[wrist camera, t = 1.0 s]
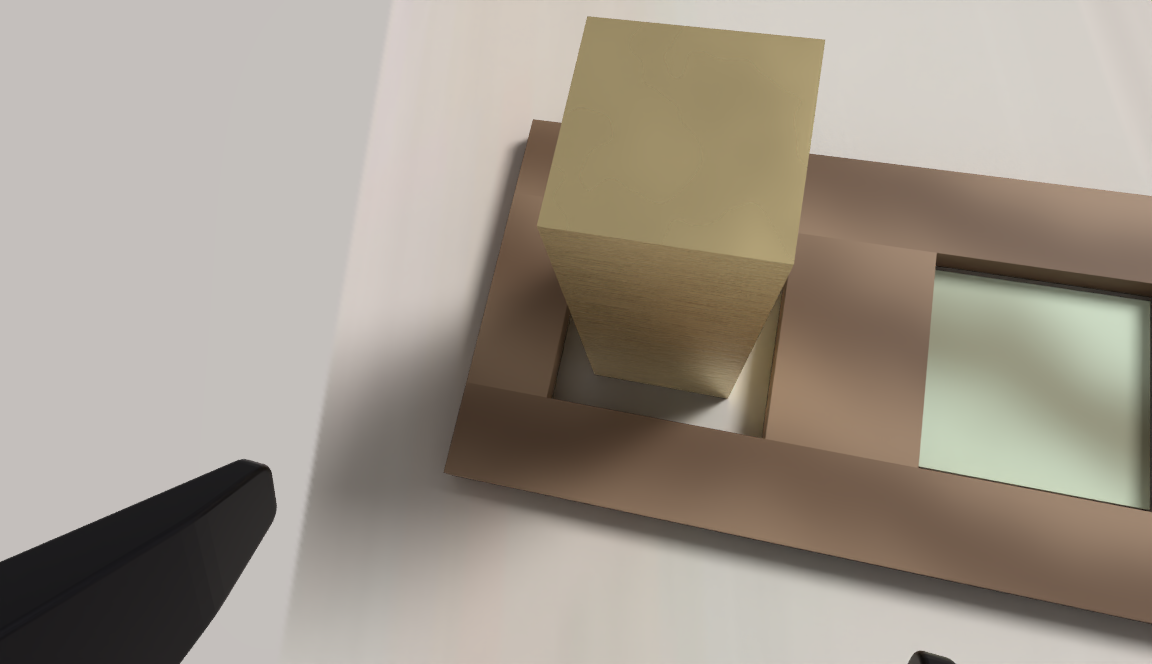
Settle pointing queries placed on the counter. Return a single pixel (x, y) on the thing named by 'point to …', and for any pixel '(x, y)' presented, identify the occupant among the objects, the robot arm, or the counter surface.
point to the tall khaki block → (679, 195)
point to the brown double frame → (877, 388)
